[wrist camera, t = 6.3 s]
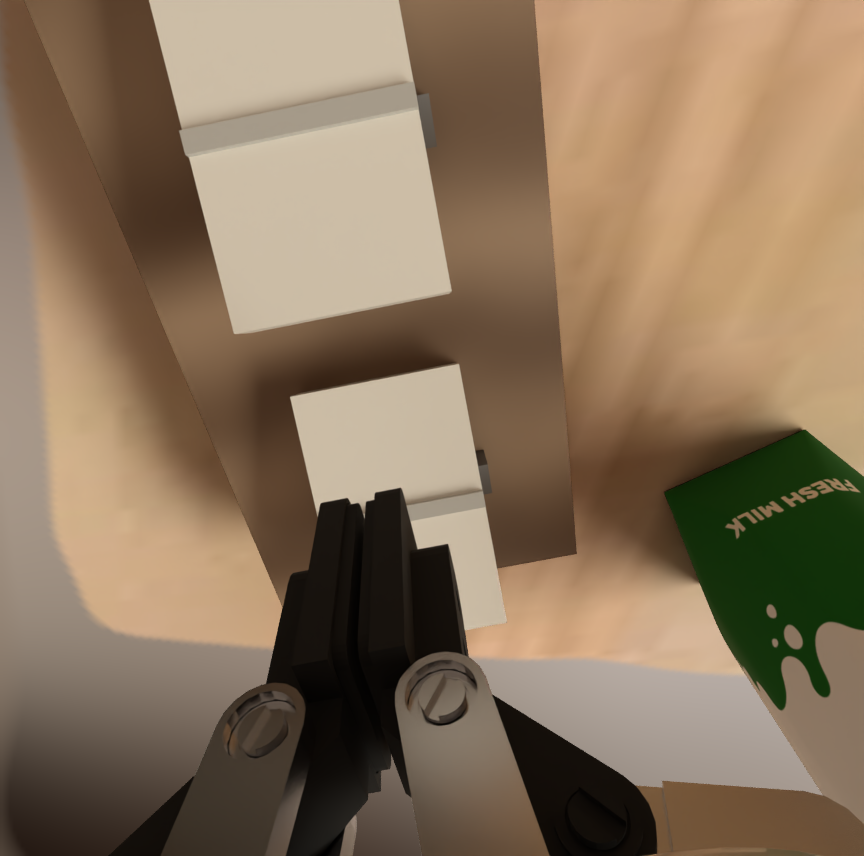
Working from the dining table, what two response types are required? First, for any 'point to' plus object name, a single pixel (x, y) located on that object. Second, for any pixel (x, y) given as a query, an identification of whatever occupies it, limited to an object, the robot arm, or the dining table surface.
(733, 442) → the dining table surface
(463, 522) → the rocker
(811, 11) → the dining table surface
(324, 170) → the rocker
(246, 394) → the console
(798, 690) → the milk carton
